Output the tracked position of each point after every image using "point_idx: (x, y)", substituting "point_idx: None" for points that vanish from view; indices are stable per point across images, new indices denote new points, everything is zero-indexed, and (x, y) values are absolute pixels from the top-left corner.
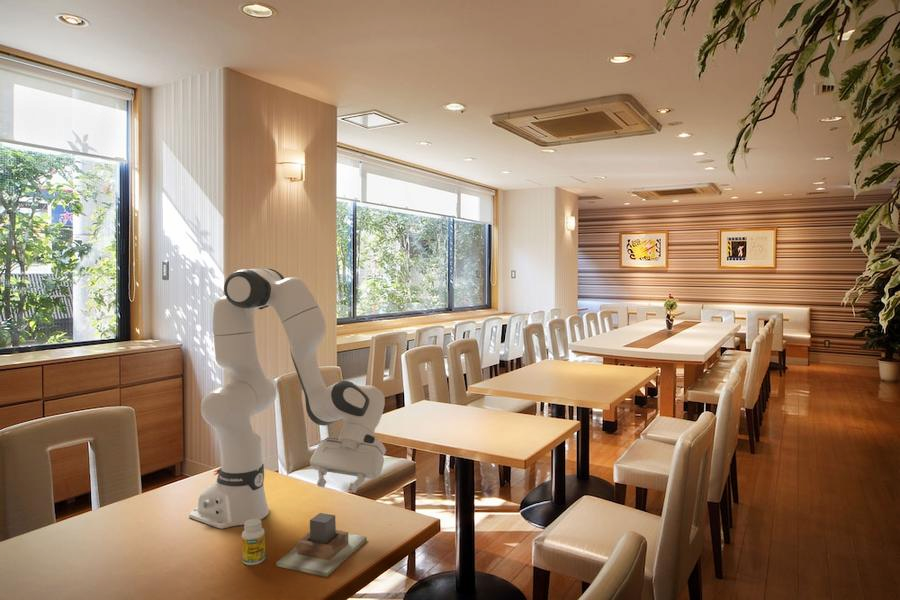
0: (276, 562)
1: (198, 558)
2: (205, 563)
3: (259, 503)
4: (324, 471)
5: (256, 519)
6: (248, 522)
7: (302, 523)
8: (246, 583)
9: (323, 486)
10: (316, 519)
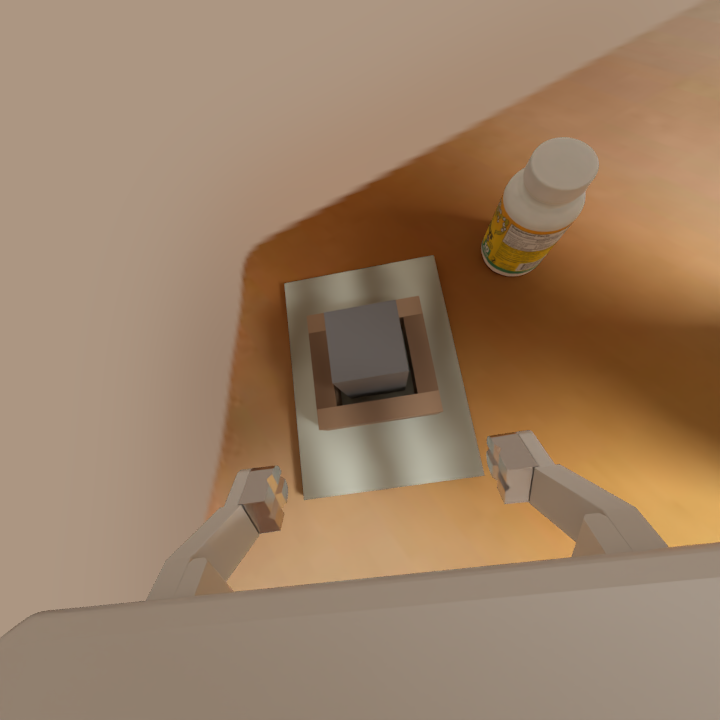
0: (432, 255)
1: (647, 185)
2: (603, 181)
3: None
4: (586, 550)
5: (574, 181)
6: (576, 153)
7: None
8: (431, 182)
9: (487, 456)
10: (375, 315)
